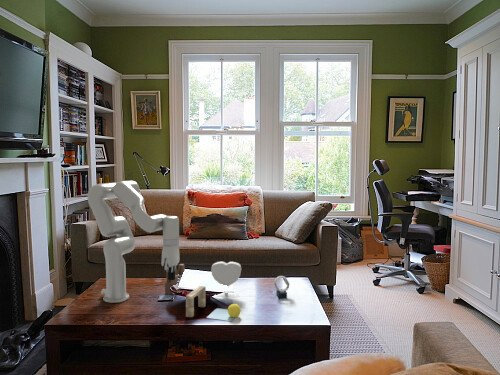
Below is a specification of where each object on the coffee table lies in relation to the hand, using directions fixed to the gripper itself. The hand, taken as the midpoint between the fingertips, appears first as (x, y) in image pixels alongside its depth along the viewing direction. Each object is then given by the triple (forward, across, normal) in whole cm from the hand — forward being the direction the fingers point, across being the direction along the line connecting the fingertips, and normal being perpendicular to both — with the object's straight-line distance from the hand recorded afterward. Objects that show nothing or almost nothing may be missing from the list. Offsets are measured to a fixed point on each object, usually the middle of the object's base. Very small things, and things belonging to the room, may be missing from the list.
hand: (171, 279), depth 193 cm
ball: (+11, +1, +33) cm, 34 cm away
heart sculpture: (+14, -24, +19) cm, 34 cm away
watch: (+14, -32, +47) cm, 59 cm away
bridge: (+14, 0, +13) cm, 19 cm away
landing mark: (+14, 0, +27) cm, 30 cm away
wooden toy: (+14, -24, -11) cm, 30 cm away
